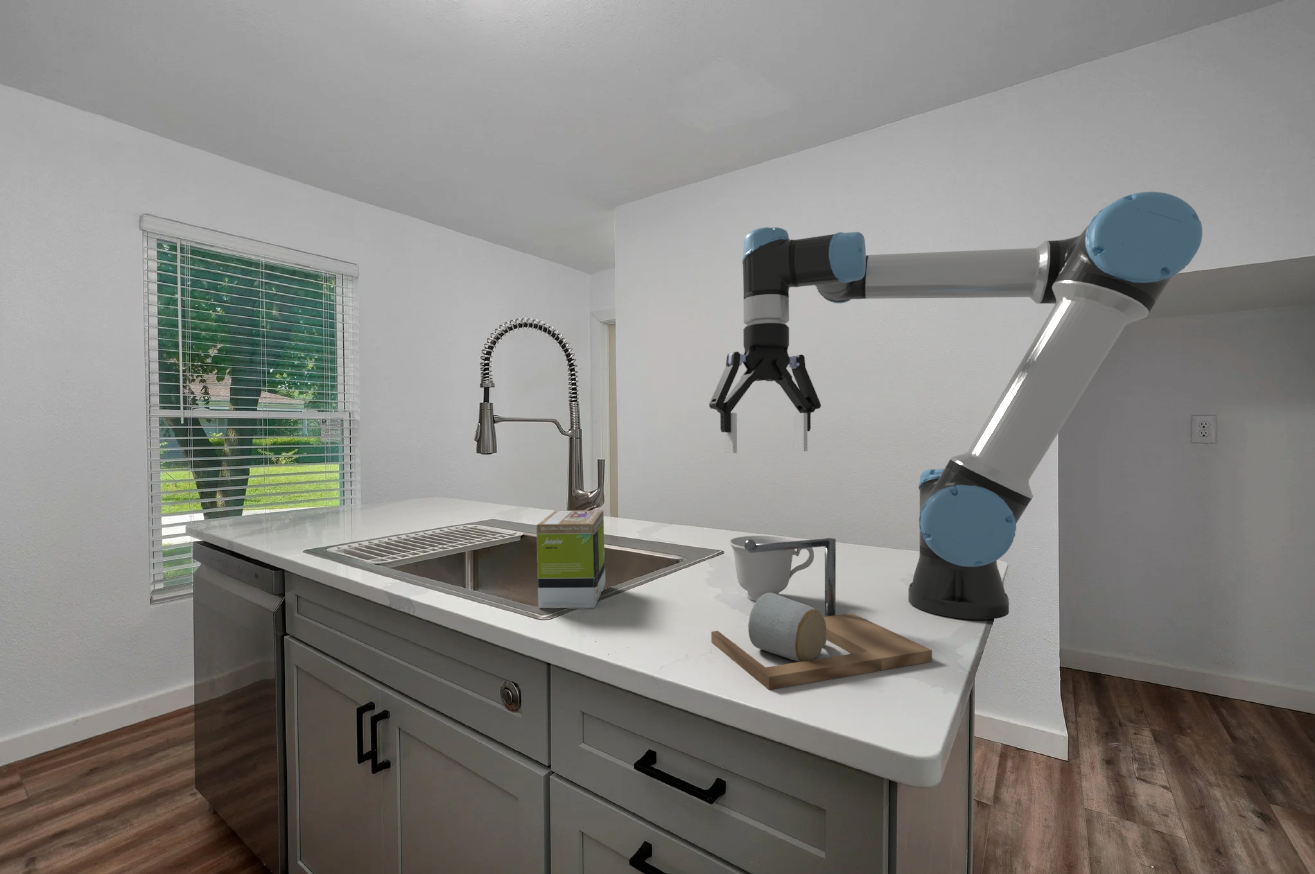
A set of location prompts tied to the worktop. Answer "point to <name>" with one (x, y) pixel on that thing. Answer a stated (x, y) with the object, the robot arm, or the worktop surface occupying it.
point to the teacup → (765, 566)
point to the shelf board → (849, 632)
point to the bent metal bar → (827, 543)
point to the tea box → (570, 559)
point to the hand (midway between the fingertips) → (766, 452)
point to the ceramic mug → (787, 628)
